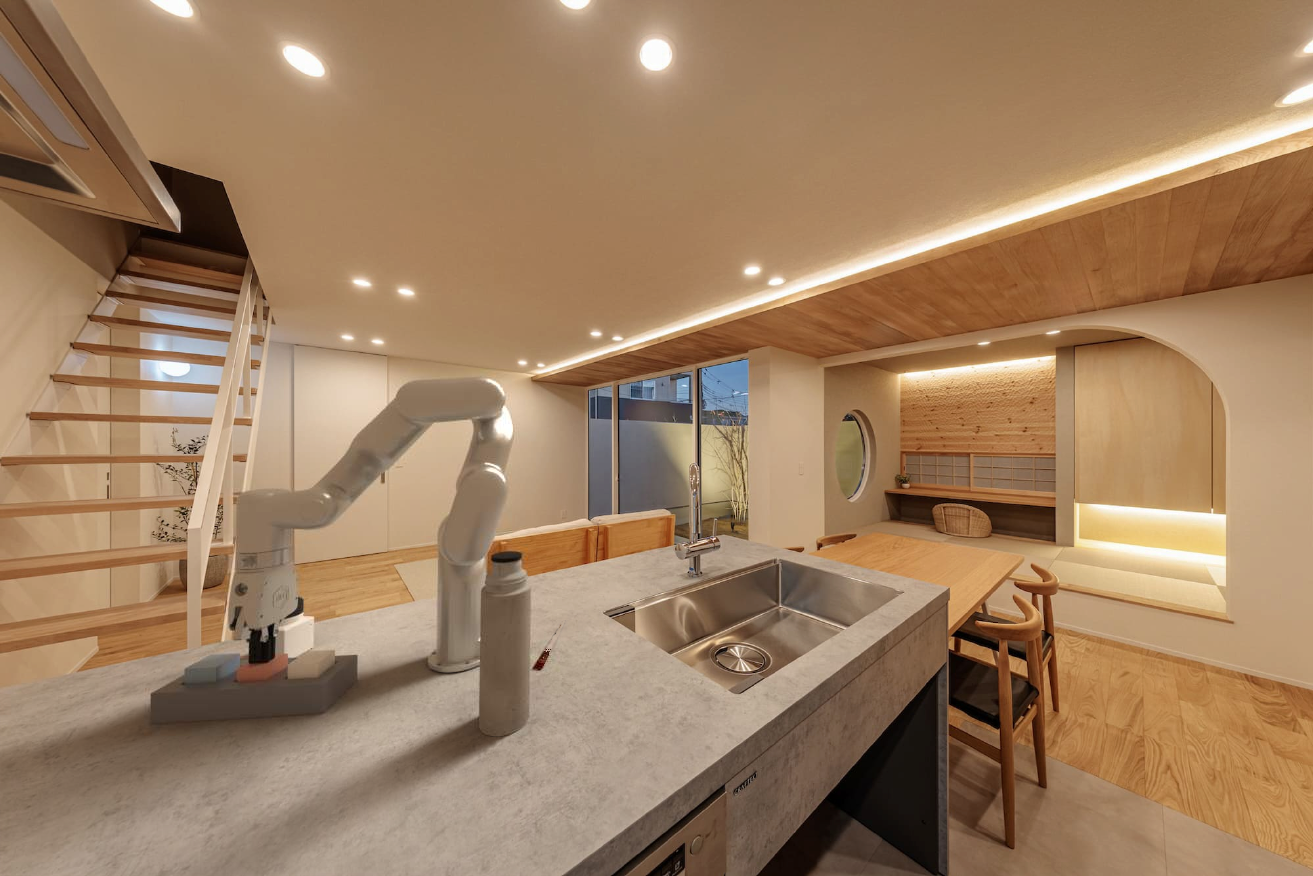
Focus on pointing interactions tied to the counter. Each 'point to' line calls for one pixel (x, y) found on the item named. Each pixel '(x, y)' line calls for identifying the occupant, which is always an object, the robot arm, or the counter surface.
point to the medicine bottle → (295, 633)
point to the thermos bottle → (504, 646)
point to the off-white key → (311, 664)
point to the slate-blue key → (212, 668)
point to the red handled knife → (541, 660)
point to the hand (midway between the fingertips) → (261, 661)
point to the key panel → (253, 695)
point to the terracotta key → (262, 669)
